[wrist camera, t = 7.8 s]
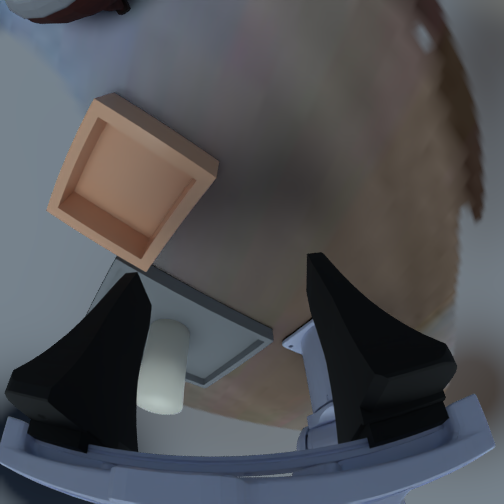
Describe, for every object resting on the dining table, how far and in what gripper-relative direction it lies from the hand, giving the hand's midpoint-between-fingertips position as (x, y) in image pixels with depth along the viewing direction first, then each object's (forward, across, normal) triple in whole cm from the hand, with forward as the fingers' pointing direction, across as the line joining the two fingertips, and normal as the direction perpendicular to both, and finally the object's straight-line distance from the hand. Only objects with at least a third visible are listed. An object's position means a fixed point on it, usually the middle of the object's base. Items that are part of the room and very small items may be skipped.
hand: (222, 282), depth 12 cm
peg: (+9, +8, +13) cm, 18 cm away
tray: (+9, +8, +13) cm, 18 cm away
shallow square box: (+9, +6, -2) cm, 12 cm away
